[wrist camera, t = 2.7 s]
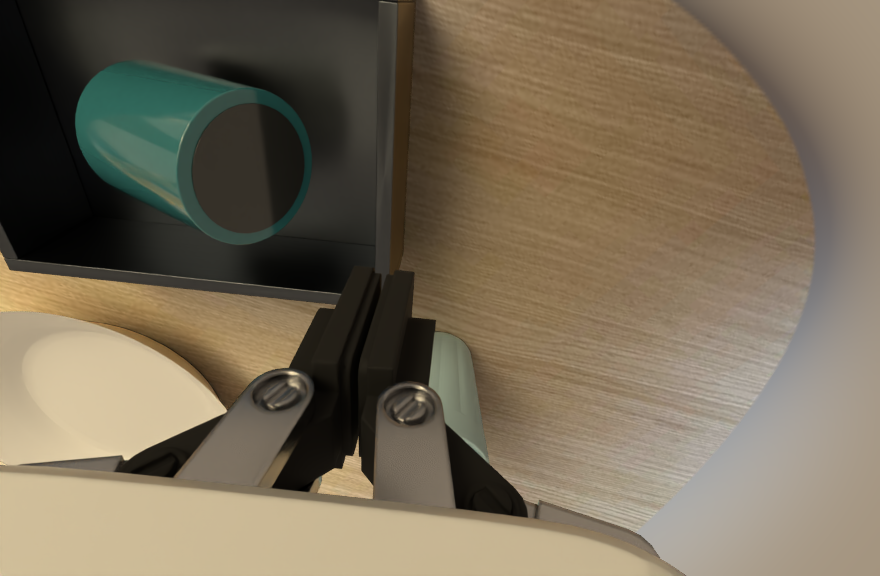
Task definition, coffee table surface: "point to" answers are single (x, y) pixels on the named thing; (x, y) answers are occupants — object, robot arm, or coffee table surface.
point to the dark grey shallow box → (231, 58)
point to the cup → (457, 390)
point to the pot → (196, 148)
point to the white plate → (91, 390)
